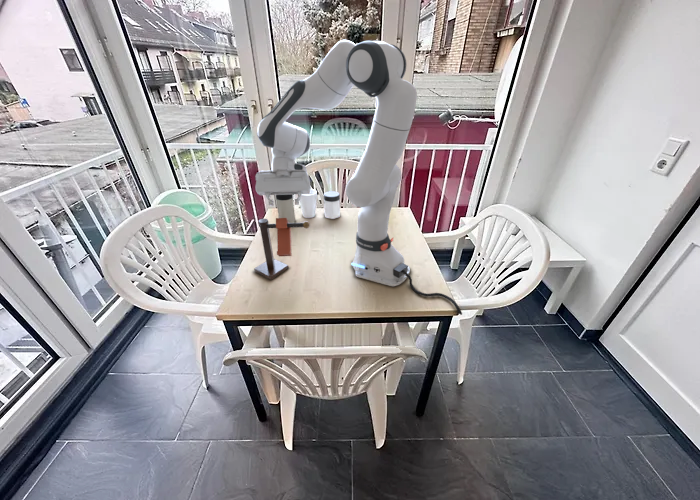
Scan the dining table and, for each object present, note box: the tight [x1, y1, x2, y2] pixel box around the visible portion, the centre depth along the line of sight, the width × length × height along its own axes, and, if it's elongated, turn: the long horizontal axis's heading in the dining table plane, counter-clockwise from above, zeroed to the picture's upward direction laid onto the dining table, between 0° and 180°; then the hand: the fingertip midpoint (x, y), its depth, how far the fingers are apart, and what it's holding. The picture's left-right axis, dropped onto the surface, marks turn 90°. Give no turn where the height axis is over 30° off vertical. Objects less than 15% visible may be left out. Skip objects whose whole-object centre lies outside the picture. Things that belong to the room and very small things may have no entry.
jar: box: [323, 190, 341, 220], centre depth 147 cm, size 9×8×12 cm
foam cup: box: [299, 188, 318, 219], centre depth 147 cm, size 10×9×13 cm
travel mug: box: [275, 194, 296, 223], centre depth 139 cm, size 8×8×18 cm
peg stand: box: [253, 218, 311, 281], centre depth 104 cm, size 22×13×21 cm, turn 95°
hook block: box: [275, 217, 292, 258], centre depth 100 cm, size 8×4×12 cm
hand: (284, 204), depth 105 cm, fingers open, 8 cm apart
